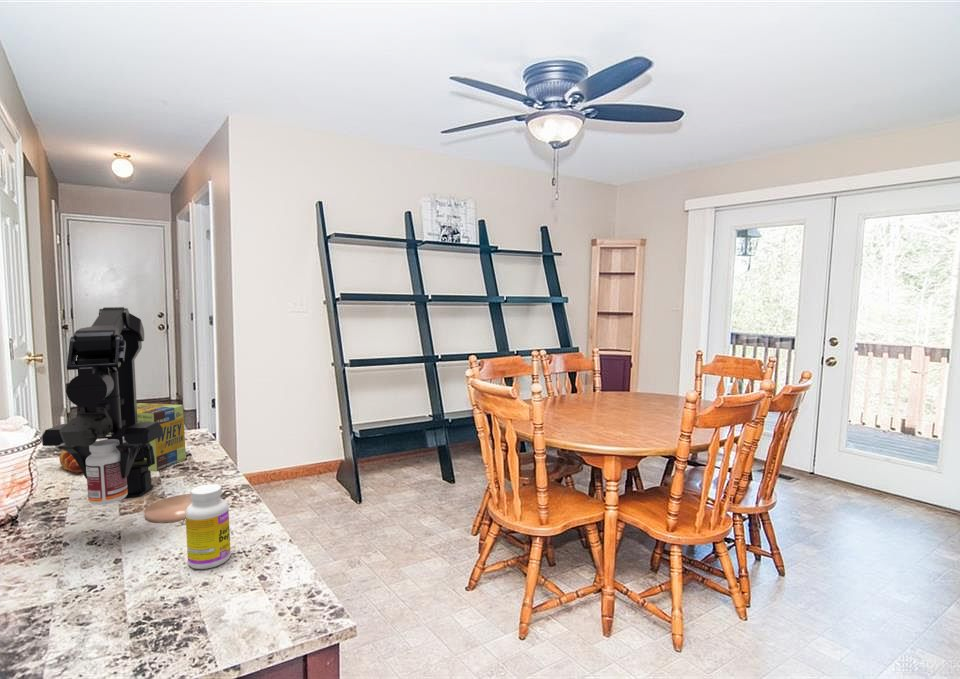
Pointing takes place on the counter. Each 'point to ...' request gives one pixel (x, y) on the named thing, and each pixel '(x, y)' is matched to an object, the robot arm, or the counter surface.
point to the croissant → (69, 462)
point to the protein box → (165, 433)
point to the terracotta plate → (168, 509)
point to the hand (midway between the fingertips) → (107, 478)
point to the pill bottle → (105, 473)
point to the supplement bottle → (207, 528)
